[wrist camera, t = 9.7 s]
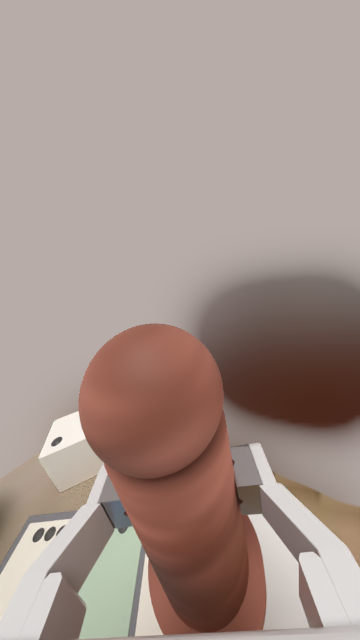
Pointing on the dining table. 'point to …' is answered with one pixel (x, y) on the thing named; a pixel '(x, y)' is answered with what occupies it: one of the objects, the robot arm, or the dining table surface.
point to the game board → (144, 579)
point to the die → (68, 454)
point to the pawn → (176, 477)
